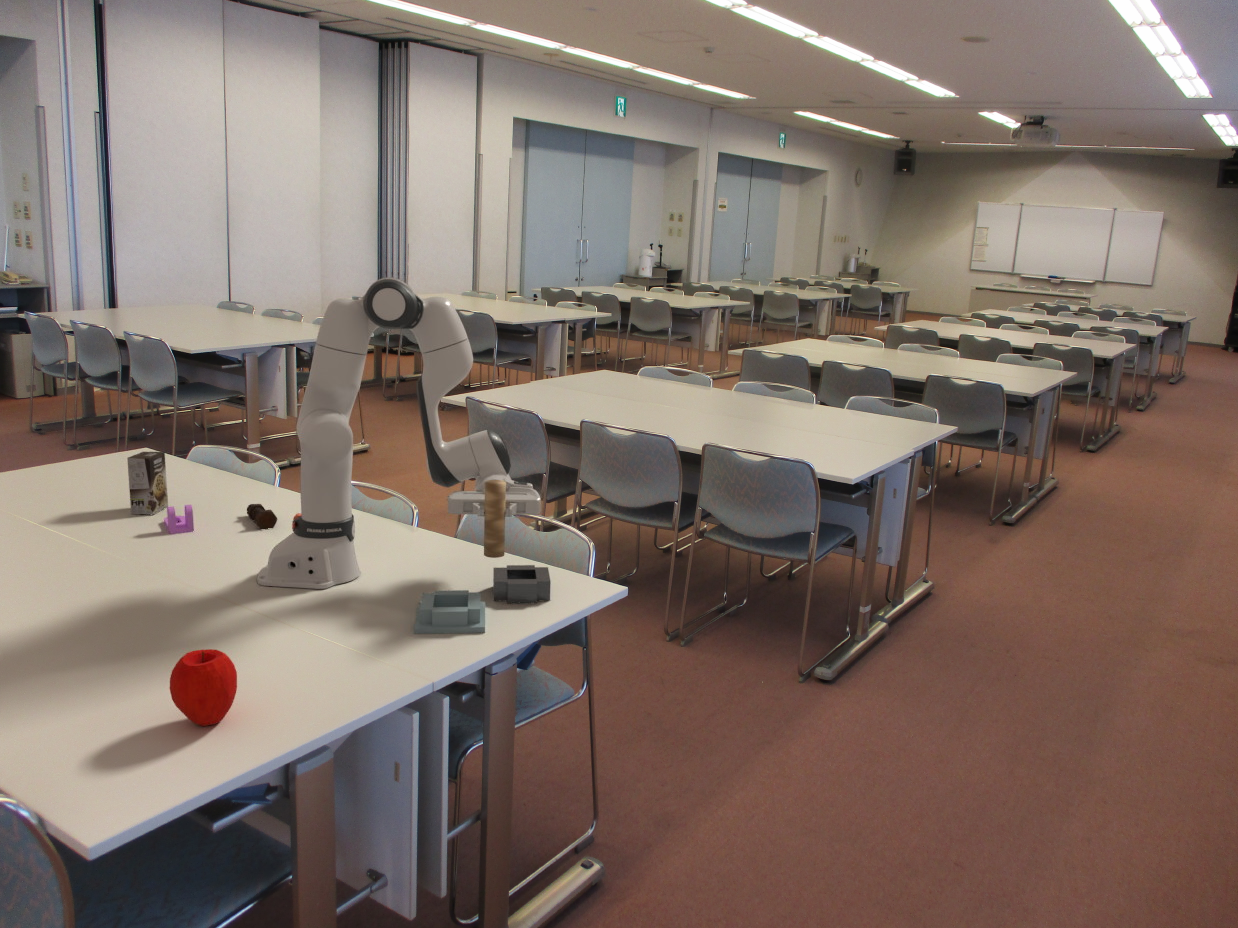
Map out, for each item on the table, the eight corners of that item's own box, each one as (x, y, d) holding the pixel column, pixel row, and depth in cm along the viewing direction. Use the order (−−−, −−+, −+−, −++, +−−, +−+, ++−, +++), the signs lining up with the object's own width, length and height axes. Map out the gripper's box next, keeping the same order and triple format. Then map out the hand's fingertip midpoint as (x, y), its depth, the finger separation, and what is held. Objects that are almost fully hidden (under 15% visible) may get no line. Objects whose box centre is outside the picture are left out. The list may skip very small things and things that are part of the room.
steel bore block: (493, 603, 205) (493, 584, 204) (493, 583, 217) (493, 565, 216) (550, 602, 207) (551, 583, 206) (547, 583, 219) (547, 565, 218)
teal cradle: (413, 633, 188) (413, 613, 187) (419, 607, 201) (418, 589, 200) (484, 632, 190) (485, 612, 189) (485, 606, 203) (485, 588, 202)
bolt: (255, 521, 264) (270, 533, 252) (239, 514, 261) (252, 526, 249) (265, 502, 265) (280, 514, 253) (248, 495, 262) (263, 507, 250)
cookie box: (153, 515, 259) (149, 458, 256) (130, 514, 259) (125, 457, 256) (169, 506, 268) (165, 451, 265) (147, 505, 268) (142, 450, 265)
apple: (157, 728, 148) (152, 656, 145) (205, 702, 157) (201, 633, 154) (207, 742, 145) (202, 668, 142) (253, 714, 154) (249, 644, 151)
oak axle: (483, 557, 201) (485, 484, 197) (483, 551, 205) (484, 479, 201) (504, 557, 201) (506, 485, 198) (504, 551, 206) (505, 480, 202)
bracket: (194, 532, 247) (192, 506, 245) (170, 534, 244) (169, 508, 242) (185, 519, 257) (183, 494, 256) (162, 521, 254) (161, 497, 253)
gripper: (447, 482, 211) (445, 498, 198) (539, 483, 214) (542, 499, 201) (447, 509, 213) (445, 527, 199) (538, 510, 216) (541, 527, 202)
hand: (494, 513), depth 200 cm, fingers closed on oak axle, 4 cm apart
